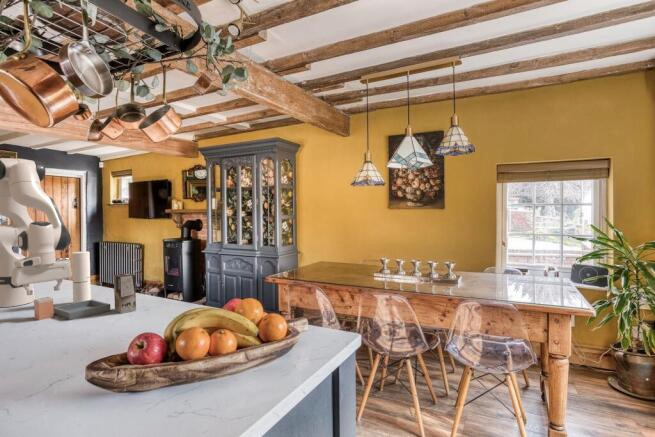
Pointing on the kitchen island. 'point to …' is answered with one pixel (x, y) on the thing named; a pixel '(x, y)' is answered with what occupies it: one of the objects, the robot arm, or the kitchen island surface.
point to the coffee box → (125, 292)
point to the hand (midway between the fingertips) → (43, 292)
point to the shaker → (43, 308)
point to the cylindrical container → (81, 276)
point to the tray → (81, 309)
